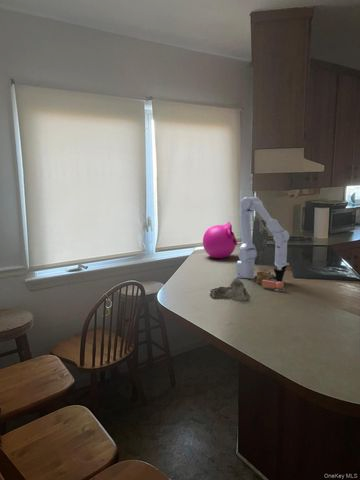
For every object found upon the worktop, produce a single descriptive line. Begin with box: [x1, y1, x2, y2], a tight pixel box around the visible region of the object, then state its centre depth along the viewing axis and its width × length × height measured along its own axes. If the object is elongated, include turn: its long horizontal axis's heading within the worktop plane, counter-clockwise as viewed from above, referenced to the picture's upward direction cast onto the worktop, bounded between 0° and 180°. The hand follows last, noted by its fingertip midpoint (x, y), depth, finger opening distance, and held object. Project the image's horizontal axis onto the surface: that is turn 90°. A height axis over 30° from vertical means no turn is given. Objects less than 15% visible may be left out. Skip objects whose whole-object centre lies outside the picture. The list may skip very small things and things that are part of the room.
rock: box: [209, 277, 250, 301], centre depth 159 cm, size 18×11×10 cm, turn 76°
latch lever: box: [261, 280, 285, 290], centre depth 169 cm, size 4×10×3 cm, turn 56°
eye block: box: [256, 267, 272, 285], centre depth 181 cm, size 6×8×6 cm
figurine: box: [202, 221, 238, 259], centre depth 243 cm, size 23×24×25 cm
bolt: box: [269, 274, 284, 282], centre depth 180 cm, size 11×4×6 cm, turn 69°
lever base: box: [273, 288, 286, 293], centre depth 167 cm, size 5×5×1 cm
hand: (280, 280), depth 178 cm, fingers open, 7 cm apart
